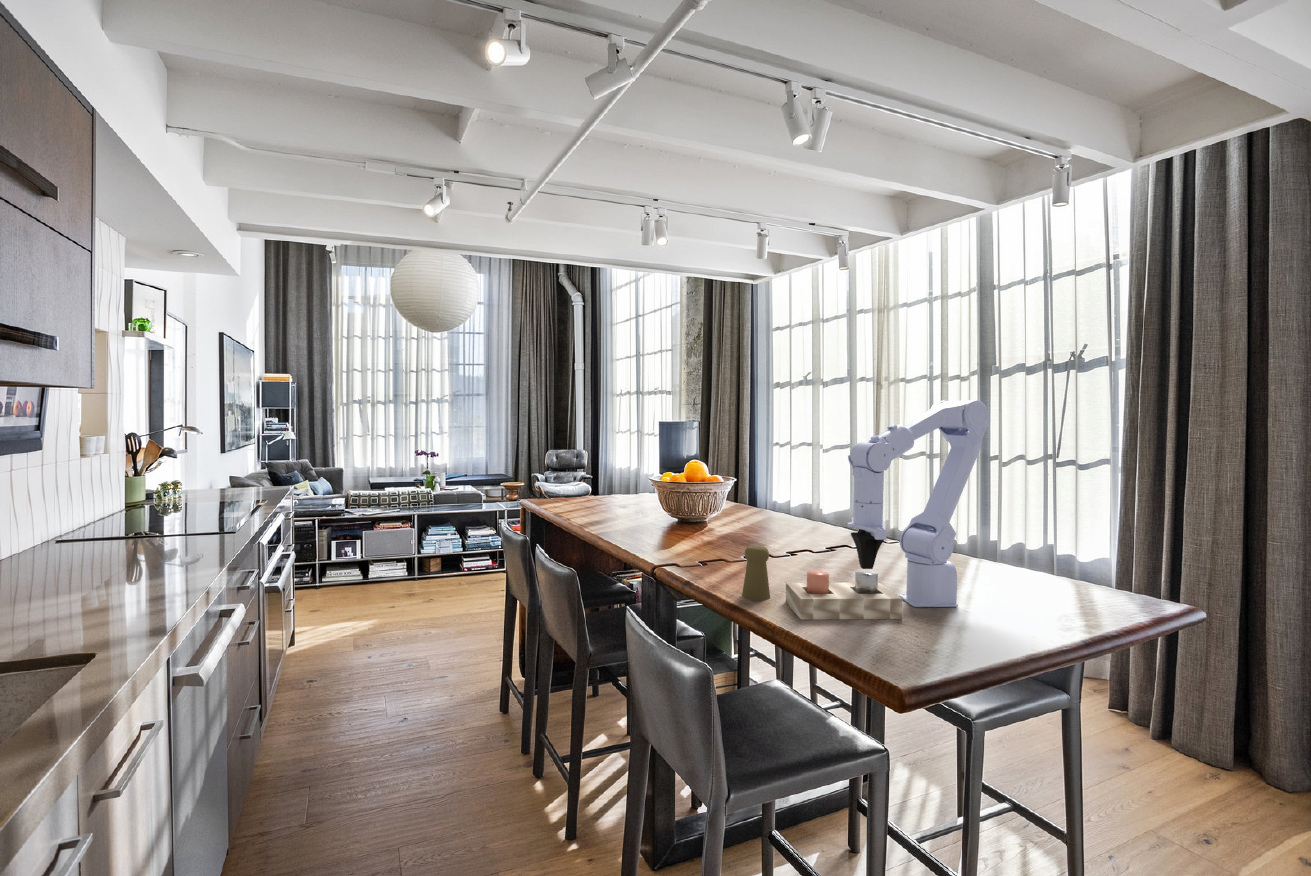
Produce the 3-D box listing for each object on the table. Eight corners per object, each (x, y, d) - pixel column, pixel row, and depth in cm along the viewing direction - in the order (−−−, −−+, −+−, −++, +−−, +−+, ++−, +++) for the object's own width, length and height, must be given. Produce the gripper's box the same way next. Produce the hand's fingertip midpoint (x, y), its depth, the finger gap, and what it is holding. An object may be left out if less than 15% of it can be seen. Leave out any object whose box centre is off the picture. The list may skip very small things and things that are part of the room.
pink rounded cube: (825, 589, 138) (825, 570, 138) (831, 595, 134) (832, 576, 134) (803, 589, 138) (804, 570, 138) (809, 596, 134) (810, 576, 134)
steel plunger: (872, 589, 139) (873, 570, 139) (880, 595, 135) (881, 575, 134) (851, 589, 139) (852, 570, 139) (859, 595, 134) (859, 576, 134)
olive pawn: (769, 601, 142) (770, 549, 142) (741, 599, 143) (741, 548, 143) (770, 593, 148) (771, 544, 148) (743, 591, 149) (743, 542, 149)
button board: (878, 601, 143) (879, 582, 143) (902, 618, 131) (902, 598, 131) (785, 601, 142) (786, 582, 142) (800, 619, 130) (801, 599, 130)
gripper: (837, 496, 143) (835, 560, 143) (861, 506, 128) (859, 577, 129) (869, 496, 143) (868, 560, 144) (897, 507, 129) (895, 577, 129)
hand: (866, 568), depth 136 cm, fingers closed
